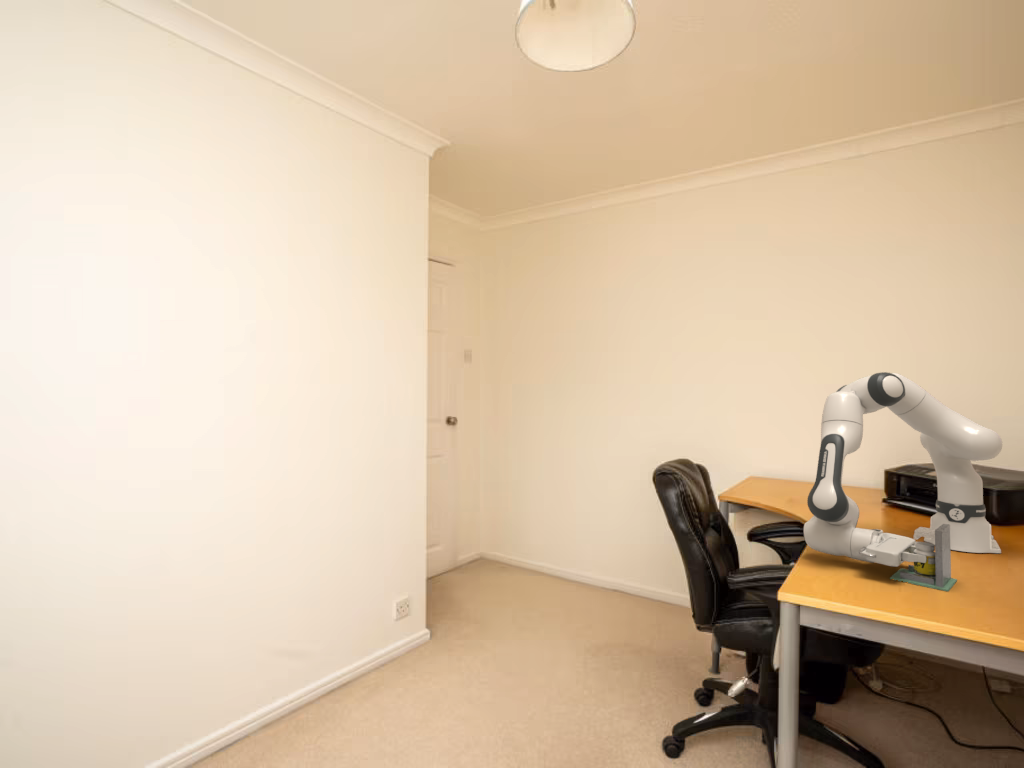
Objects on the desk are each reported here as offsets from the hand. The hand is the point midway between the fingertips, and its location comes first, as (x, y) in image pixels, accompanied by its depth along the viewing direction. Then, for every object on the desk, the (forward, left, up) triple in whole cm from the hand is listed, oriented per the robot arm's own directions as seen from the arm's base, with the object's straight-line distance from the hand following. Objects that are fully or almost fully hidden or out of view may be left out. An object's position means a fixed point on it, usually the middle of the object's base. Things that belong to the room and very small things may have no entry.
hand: (929, 556), depth 139 cm
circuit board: (0, -1, -6) cm, 7 cm away
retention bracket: (0, -1, -6) cm, 7 cm away
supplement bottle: (0, -1, -5) cm, 5 cm away
